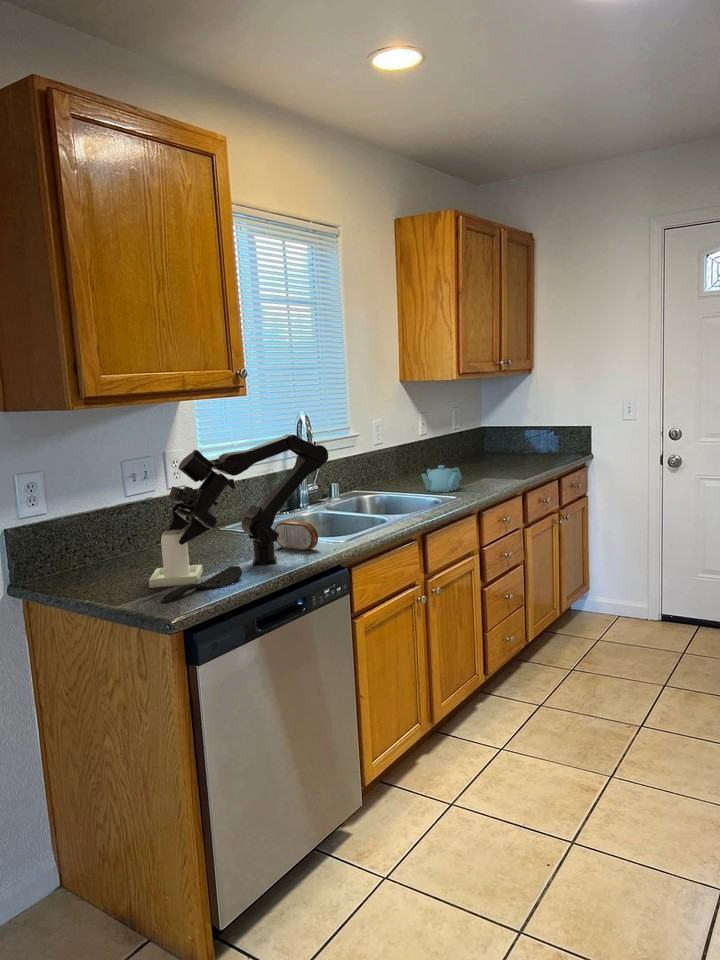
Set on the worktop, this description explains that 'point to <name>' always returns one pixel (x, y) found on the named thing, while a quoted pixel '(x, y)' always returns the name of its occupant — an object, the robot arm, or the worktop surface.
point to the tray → (175, 578)
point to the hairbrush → (208, 583)
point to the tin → (296, 535)
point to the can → (174, 554)
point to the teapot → (442, 479)
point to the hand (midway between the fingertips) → (173, 541)
